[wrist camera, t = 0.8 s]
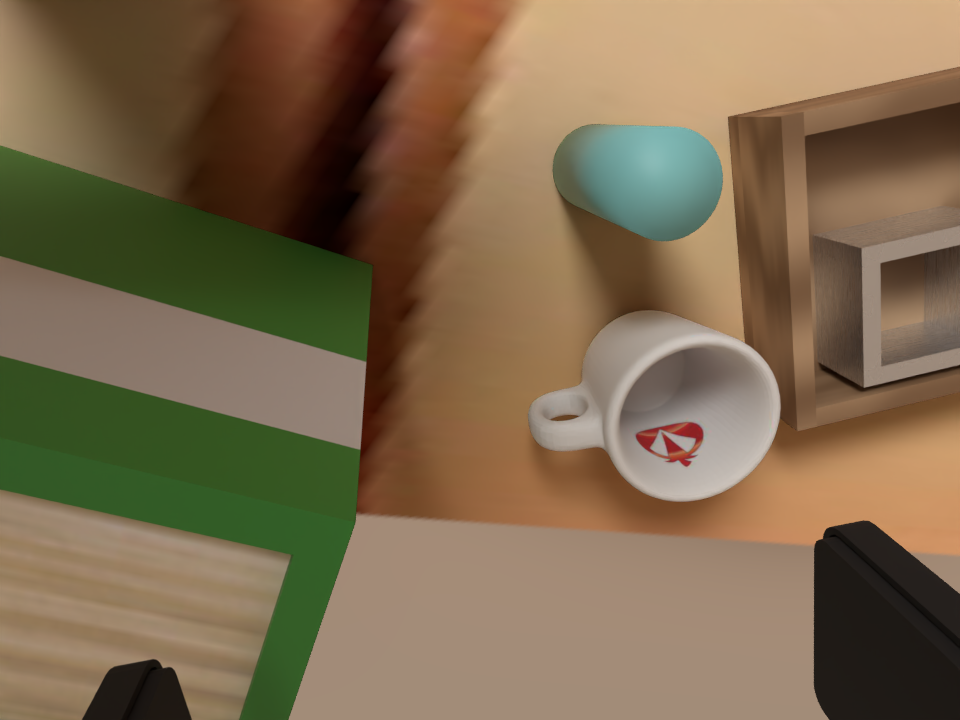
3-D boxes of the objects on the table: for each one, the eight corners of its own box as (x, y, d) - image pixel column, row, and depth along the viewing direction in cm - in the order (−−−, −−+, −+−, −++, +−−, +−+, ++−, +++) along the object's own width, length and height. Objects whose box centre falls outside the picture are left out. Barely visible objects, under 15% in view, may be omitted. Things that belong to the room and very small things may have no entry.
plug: (546, 133, 34) (607, 139, 25) (627, 116, 35) (718, 115, 25) (559, 216, 36) (622, 251, 26) (637, 199, 36) (726, 228, 27)
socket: (812, 234, 37) (861, 248, 33) (941, 205, 37) (1004, 215, 33) (817, 361, 39) (864, 387, 35) (939, 333, 39) (997, 355, 36)
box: (728, 116, 35) (781, 116, 31) (995, 59, 36) (1087, 50, 31) (749, 394, 40) (797, 431, 36) (983, 339, 41) (1060, 367, 36)
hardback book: (-43, 297, 33) (-923, 667, 11) (-18, 139, 32) (-1024, 193, 9) (330, 399, 37) (251, 829, 15) (372, 265, 35) (355, 522, 13)
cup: (525, 458, 40) (559, 537, 32) (499, 322, 37) (529, 374, 30) (712, 414, 40) (787, 481, 33) (699, 277, 38) (779, 316, 30)
